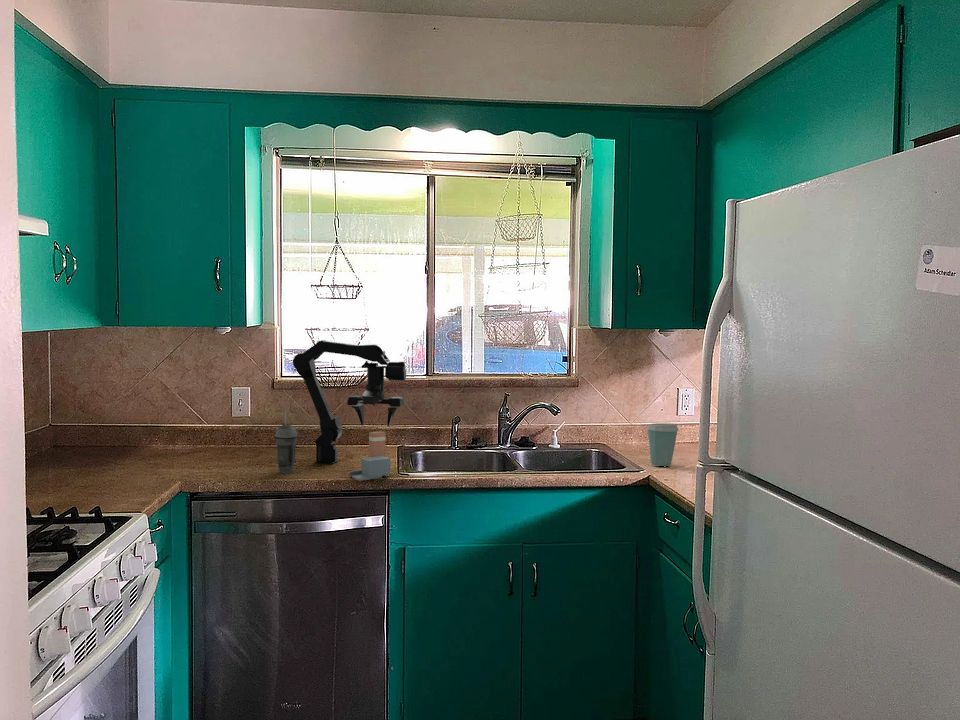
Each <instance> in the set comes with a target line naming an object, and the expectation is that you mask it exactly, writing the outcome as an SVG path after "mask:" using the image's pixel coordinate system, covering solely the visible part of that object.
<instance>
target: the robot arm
mask: <svg viewBox="0 0 960 720" xmlns="http://www.w3.org/2000/svg"><path fill="white" fill-rule="evenodd" d="M324 353H331V354H338V355H345V356H354V357H358V358H361V359H363V360H365V361H364V363H363V364H362V365H361V368H362V369H366V370H367V372H366V376H367V379H366V382H367V384H366V385H365V388H366V389H365V390H364V392H363V393H362V395H351V396H349V397H347V399H346V400H347V401H346V403H347V404H346V405H347V406H350V408H353V409H354V410H355V412H356V414H357V416H358V419H359V422H360V424H361V426H362V427H363V426H364V425H365V405H372V406H374V405H377V404H378V405H381V404H382V405H389V406H388V407H387V411H388V412H387V427H390V425H391V423H392V420H393V418H394V415H395V413H396V411H397V409H399V408H401V407H403V406H404V405H405V404H404V403H405V400H404V397H403V396H390V397H389V398H386V397H385V396H386V395H385V379H387V380H388V382H406V379H407V370H406V361H404V360H403V361H391V360H390V359H389V357H388V355H386V350H385V348H384V346H383V345H382V344H380V343H378V344H377V343H375V344H371V343H370V344H351V343H345V342H344V343H343V342H336V341H335V342H334V341H328V340H325V339H322V340H319V341H316V343H315V344H314V345H313V346H311V347H309V348H308V349H307V350H306V351H304V352H301V353H297V354H296V355H295V356H294V357H293V359H292V366H293V367H294V368H295V370H296V372H297V373H298V375H299V376H300V377H301V378H302V379H303V382H305V386H306V388H307V390H308V393H309V395H310V398H311V400H312V404H313V405H314V408H315V411H316V413H317V416H318V418H319V428H320V432H321V434H320V435H319V436H318V437H317V438H316V439H315V440H314V443H315V447H316V449H315V450H316V451H315V455H316V456H315V461H314V464H323V465H324V464H327V465H332V464H334V463H336V462H338V461H339V449H338V448H337V443H336V442H337V440H338V439H339V438H341V436H342V433H343V427H344V425H342V423H341V419H340V416H339V415H338V416H336V417H335V416H334V415H333V413H332V412H331V409H330V407H329V404H328V401H327V399H326V397H325V394H324V392H323V389H322V387H321V385H320V382H319V379H318V377H317V368H316V367H317V366H316V362H315V361H316V360H318V358H320V357H321V356H322V355H324Z"/></svg>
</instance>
